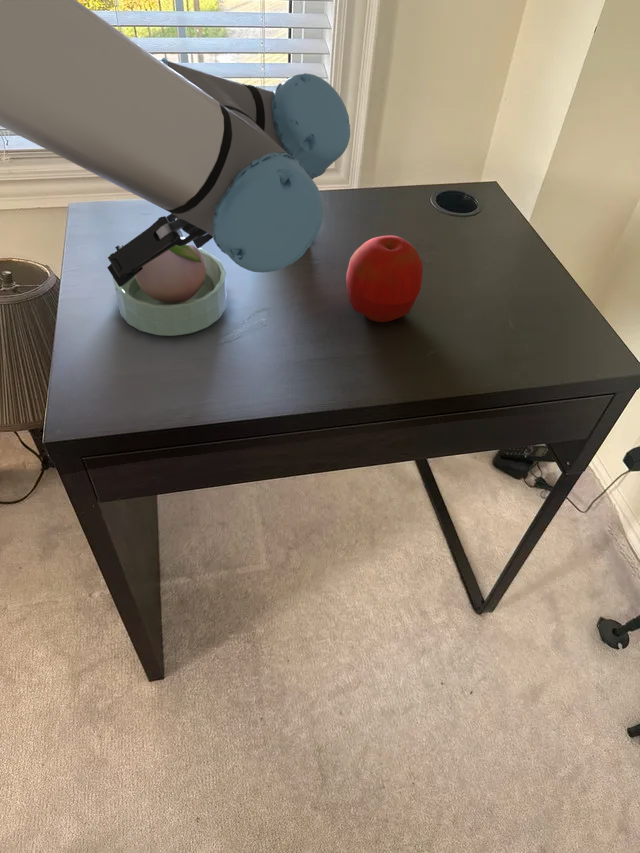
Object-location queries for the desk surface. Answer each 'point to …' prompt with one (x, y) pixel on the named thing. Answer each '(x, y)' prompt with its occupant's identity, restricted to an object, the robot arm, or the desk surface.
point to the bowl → (176, 304)
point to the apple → (384, 278)
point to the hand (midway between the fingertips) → (156, 256)
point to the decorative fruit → (173, 274)
